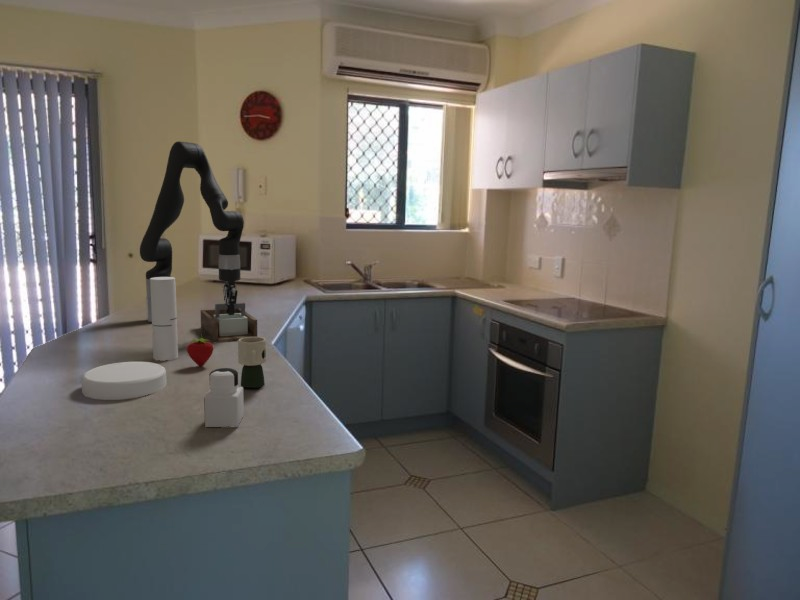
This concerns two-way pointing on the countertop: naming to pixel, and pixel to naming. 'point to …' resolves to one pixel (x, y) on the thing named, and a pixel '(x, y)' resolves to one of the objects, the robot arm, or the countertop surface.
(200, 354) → the strawberry
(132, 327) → the countertop surface
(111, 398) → the container
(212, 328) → the bay
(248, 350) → the character mug
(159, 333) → the cylindrical container
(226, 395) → the medicine bottle
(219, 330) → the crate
